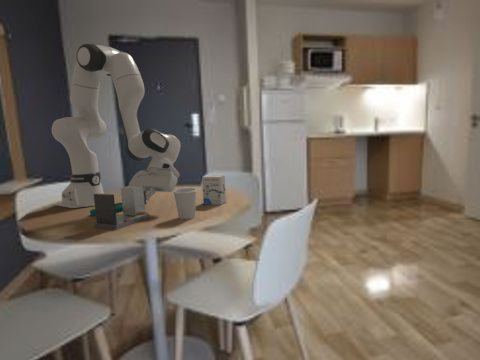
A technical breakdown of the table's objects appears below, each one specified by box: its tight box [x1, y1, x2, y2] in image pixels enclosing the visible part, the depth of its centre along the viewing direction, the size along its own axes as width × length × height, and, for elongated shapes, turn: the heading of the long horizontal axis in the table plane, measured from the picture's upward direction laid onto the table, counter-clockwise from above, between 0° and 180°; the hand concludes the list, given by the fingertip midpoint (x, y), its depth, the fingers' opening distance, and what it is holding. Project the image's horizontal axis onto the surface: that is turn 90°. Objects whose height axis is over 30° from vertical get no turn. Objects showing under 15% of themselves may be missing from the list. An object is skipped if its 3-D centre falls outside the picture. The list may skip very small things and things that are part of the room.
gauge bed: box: [93, 193, 150, 231], centre depth 127 cm, size 10×16×12 cm, turn 153°
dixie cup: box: [172, 187, 198, 220], centre depth 129 cm, size 8×8×10 cm
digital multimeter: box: [89, 202, 123, 218], centre depth 145 cm, size 7×15×3 cm, turn 145°
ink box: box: [201, 174, 227, 206], centre depth 150 cm, size 9×5×12 cm, turn 68°
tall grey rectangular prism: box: [120, 185, 148, 216], centre depth 132 cm, size 9×6×10 cm
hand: (144, 199), depth 137 cm, fingers closed
